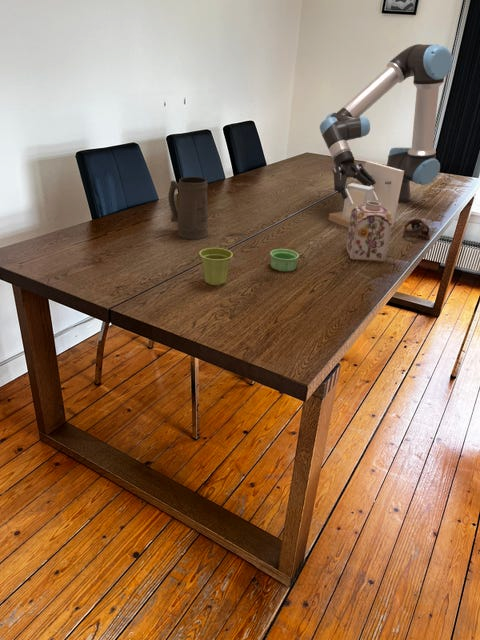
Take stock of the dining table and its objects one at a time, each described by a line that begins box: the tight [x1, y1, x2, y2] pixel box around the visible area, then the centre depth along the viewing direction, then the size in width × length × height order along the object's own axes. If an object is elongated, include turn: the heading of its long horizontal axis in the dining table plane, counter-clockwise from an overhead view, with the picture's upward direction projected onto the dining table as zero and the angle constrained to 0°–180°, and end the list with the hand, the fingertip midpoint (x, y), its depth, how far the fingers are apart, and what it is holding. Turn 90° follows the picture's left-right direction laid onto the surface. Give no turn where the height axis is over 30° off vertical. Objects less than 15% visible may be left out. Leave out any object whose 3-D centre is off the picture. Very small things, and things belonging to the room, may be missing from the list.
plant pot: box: [198, 247, 233, 286], centre depth 148 cm, size 9×9×9 cm
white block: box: [342, 182, 374, 220], centre depth 199 cm, size 5×9×13 cm, turn 54°
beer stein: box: [167, 176, 209, 240], centre depth 180 cm, size 15×11×20 cm
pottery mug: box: [402, 218, 431, 240], centre depth 194 cm, size 12×10×8 cm
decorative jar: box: [345, 201, 393, 262], centre depth 172 cm, size 12×12×18 cm
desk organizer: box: [328, 160, 404, 229], centre depth 201 cm, size 18×18×22 cm
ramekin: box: [269, 248, 300, 272], centre depth 162 cm, size 9×9×4 cm
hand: (363, 203), depth 198 cm, fingers open, 12 cm apart
